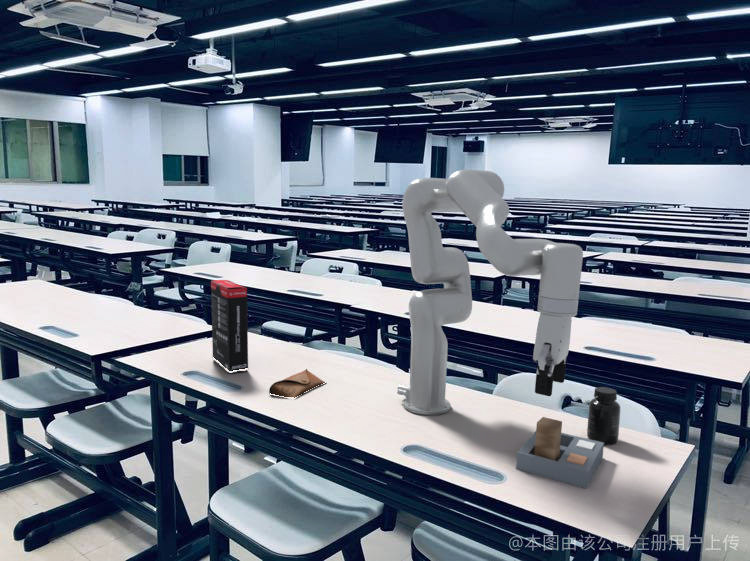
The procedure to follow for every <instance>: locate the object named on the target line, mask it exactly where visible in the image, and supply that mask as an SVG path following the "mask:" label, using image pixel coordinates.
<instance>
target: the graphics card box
mask: <svg viewBox="0 0 750 561" xmlns="http://www.w3.org/2000/svg"><path fill="white" fill-rule="evenodd" d="M210 294H211V295H210V296H211V298H210V299H211V300H210V301H211V302H210V303H211V304H210V305H211V339H212V340H211V341H212V358H213V357H214V358H215V359H216V360H218V361H219V362H220V363H221V364H222V365H223V366H224V367H225V368H227V369H228V370H229V371H233V370H239V369H245V368H248V369H249V344H248V343H249V340H248V338H249V336H248V327H249V326H248V288H247V287H246V286H243V285H240V284H238V283H235V282H234V281H232V280H229V279H217V280H216V279H215V280H210Z"/></svg>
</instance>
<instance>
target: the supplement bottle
mask: <svg viewBox="0 0 750 561" xmlns="http://www.w3.org/2000/svg"><path fill="white" fill-rule="evenodd" d="M617 393H618V392H617V390H616V389H613V388H610V387H605V386H599V387H595V388H594V393H593V397H594V398H592V399H591V400H590V401H589V403H588V404H589V405H588V413H587V414H588V415H587V429H586V431H587V432H586V436H587V439H590V440H595V441H599V442H603V443H604V446H605V445H606V446H607V445H608V446H609V445H610V446H611V445H614V444H616V443H617V442H618V441H619V434H620V421H621V406H620V404H619V402H617V399H618V397H617V396H618V394H617Z"/></svg>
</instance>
